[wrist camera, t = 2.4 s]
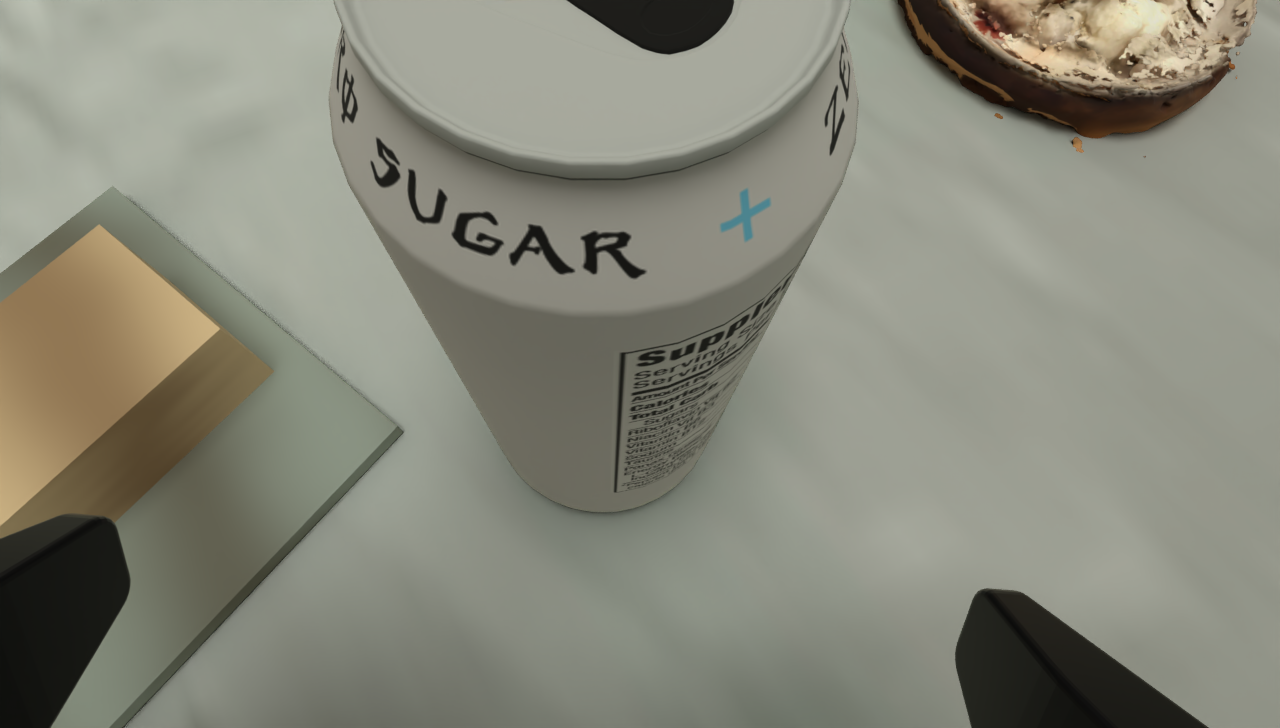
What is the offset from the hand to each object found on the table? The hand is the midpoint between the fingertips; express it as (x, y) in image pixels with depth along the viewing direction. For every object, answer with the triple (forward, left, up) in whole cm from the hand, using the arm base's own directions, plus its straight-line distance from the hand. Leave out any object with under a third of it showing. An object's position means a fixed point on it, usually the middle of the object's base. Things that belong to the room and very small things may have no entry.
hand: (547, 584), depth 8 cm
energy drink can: (+5, +3, -12) cm, 13 cm away
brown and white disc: (+28, 0, -13) cm, 30 cm away
